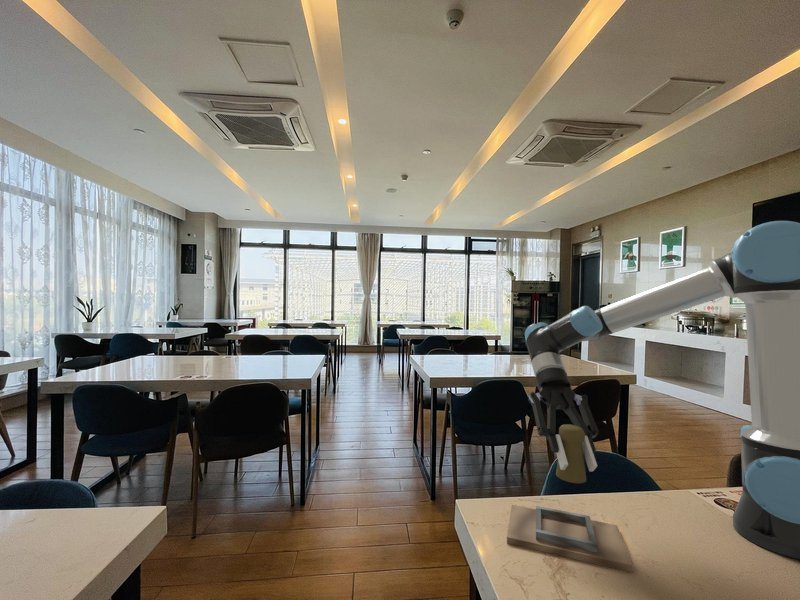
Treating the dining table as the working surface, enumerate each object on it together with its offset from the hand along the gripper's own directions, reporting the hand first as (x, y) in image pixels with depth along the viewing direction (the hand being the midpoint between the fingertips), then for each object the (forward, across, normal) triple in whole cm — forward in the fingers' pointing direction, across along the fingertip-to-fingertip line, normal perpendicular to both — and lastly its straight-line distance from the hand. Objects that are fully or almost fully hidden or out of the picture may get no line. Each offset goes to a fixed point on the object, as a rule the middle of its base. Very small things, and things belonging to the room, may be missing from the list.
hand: (578, 467), depth 75 cm
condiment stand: (+9, +2, -12) cm, 15 cm away
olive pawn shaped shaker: (0, 0, -5) cm, 5 cm away
